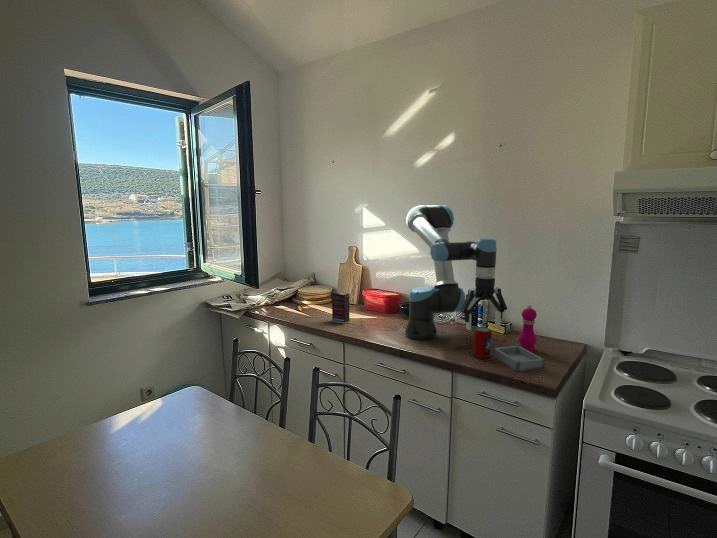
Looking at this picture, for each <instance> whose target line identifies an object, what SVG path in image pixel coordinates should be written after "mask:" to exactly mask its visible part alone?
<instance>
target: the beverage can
mask: <svg viewBox="0 0 717 538" xmlns="http://www.w3.org/2000/svg"><path fill="white" fill-rule="evenodd" d="M491 350H492V332H491V329H490V328H488V327H486V326H485V327H484V326H478V327H476V329H475V330H474V336H473V355H474V356H475V358H478V359H480V360H481V359H484V360H486V359H488V358H490V357H491Z"/></svg>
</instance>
